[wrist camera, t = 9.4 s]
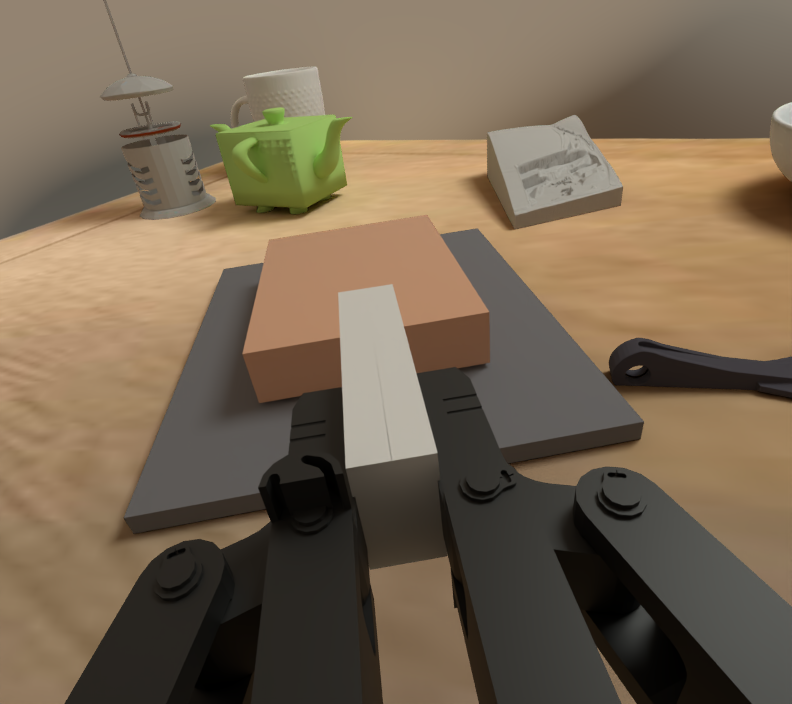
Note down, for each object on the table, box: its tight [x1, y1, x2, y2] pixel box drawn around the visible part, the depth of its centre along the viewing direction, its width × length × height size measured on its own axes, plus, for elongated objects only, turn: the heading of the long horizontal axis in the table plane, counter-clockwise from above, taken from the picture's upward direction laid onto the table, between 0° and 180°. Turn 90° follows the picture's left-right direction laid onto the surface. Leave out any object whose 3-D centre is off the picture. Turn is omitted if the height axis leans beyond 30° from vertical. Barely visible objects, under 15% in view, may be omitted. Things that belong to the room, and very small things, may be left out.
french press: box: [100, 0, 216, 220], centre depth 59 cm, size 10×12×25 cm
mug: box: [231, 67, 325, 129], centre depth 76 cm, size 15×11×13 cm
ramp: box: [487, 115, 623, 229], centre depth 53 cm, size 28×16×5 cm, turn 156°
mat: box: [124, 229, 644, 534], centre depth 32 cm, size 22×26×1 cm
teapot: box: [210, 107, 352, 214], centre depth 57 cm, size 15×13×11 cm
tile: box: [242, 215, 490, 403], centre depth 31 cm, size 12×3×16 cm
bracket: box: [609, 338, 792, 398], centre depth 23 cm, size 14×15×3 cm
